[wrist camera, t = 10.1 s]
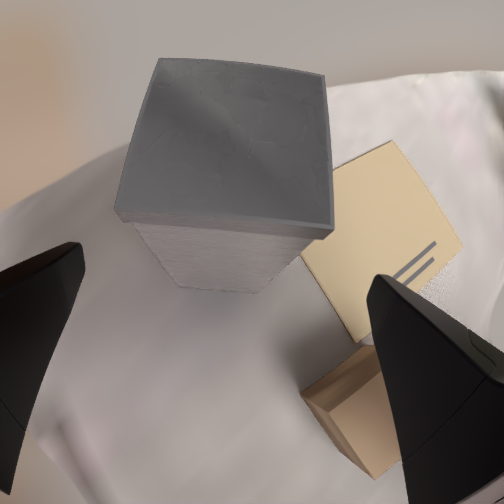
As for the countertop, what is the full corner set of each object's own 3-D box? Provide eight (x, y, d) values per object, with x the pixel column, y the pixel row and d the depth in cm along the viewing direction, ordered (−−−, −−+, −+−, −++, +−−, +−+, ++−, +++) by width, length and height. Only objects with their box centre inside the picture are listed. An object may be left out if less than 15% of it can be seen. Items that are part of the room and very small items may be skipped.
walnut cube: (338, 450, 16) (374, 480, 12) (299, 393, 17) (328, 412, 12) (398, 402, 18) (444, 415, 13) (364, 344, 18) (408, 346, 13)
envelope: (355, 343, 18) (357, 343, 18) (268, 206, 20) (268, 204, 19) (461, 247, 21) (463, 246, 21) (392, 141, 22) (393, 140, 22)
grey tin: (258, 295, 18) (334, 229, 7) (176, 288, 18) (114, 209, 6) (262, 217, 19) (324, 75, 8) (185, 210, 19) (159, 57, 7)
